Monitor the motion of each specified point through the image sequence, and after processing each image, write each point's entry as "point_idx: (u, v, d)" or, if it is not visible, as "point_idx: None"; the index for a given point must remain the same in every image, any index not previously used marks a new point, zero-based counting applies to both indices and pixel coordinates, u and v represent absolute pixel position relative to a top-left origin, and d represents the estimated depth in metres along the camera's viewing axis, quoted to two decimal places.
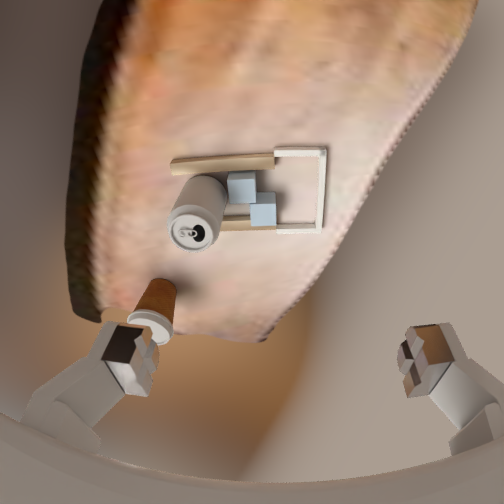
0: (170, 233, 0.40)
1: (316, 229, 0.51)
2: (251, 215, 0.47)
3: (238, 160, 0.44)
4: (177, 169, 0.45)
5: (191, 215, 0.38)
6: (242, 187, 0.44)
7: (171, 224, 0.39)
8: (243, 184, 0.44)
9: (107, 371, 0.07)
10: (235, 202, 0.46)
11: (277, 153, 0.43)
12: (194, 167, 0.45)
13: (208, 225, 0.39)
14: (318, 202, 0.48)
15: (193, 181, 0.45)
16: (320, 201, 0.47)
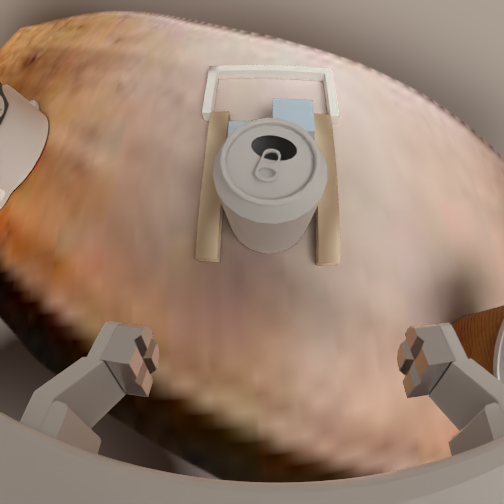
0: (265, 200, 0.17)
1: (326, 73, 0.31)
2: None
3: (208, 153, 0.29)
4: (206, 245, 0.27)
5: (222, 147, 0.18)
6: None
7: (240, 192, 0.17)
8: None
9: (107, 371, 0.07)
10: None
11: (206, 109, 0.30)
12: (208, 217, 0.28)
13: (250, 122, 0.18)
14: (283, 70, 0.31)
15: None
16: (281, 68, 0.31)
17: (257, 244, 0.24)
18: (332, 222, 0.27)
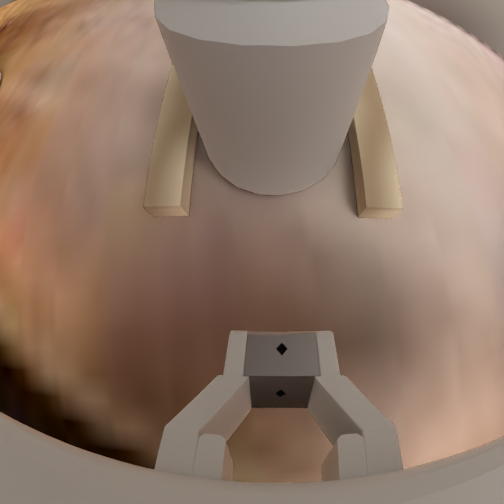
0: None
1: None
2: None
3: None
4: (164, 184, 0.15)
5: None
6: None
7: None
8: None
9: (247, 387, 0.07)
10: None
11: None
12: (170, 140, 0.15)
13: None
14: None
15: None
16: None
17: (252, 164, 0.12)
18: (381, 144, 0.14)
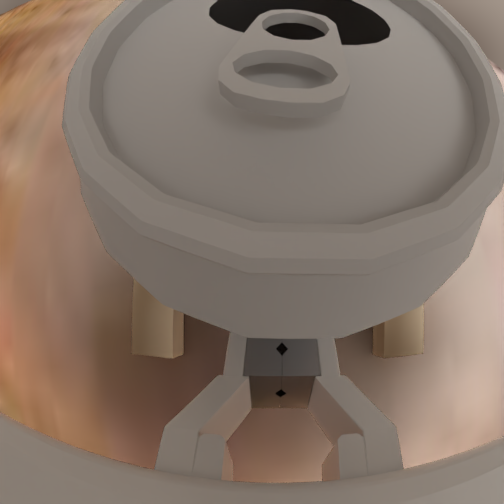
0: (289, 237, 0.02)
1: None
2: None
3: None
4: (151, 330, 0.12)
5: (95, 29, 0.03)
6: None
7: (122, 192, 0.02)
8: None
9: (247, 387, 0.07)
10: None
11: None
12: None
13: None
14: None
15: None
16: None
17: None
18: None
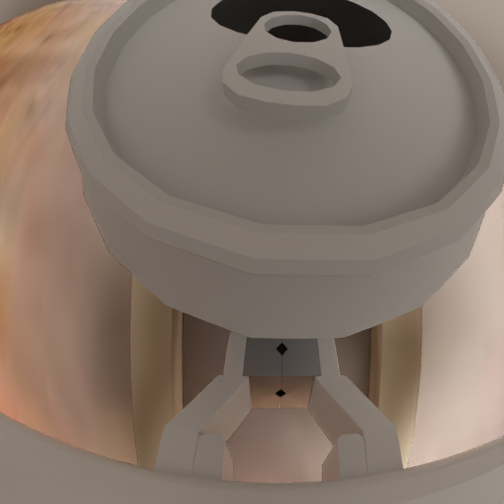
0: (293, 239, 0.02)
1: None
2: None
3: None
4: (155, 451, 0.11)
5: (97, 30, 0.03)
6: None
7: (127, 193, 0.03)
8: None
9: (247, 387, 0.07)
10: None
11: None
12: (151, 401, 0.12)
13: None
14: None
15: None
16: None
17: None
18: (405, 403, 0.11)
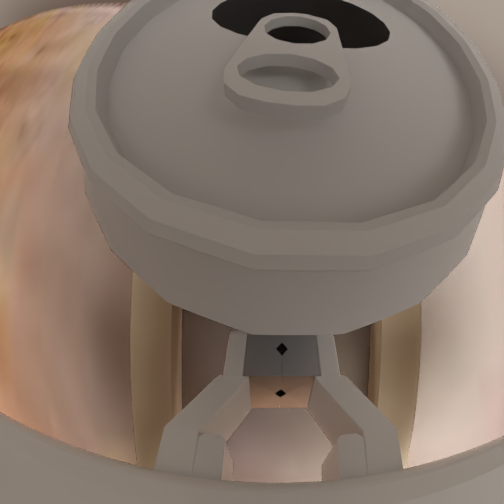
0: (293, 234, 0.02)
1: None
2: None
3: (138, 301, 0.13)
4: None
5: (100, 31, 0.03)
6: None
7: (130, 191, 0.03)
8: None
9: (247, 387, 0.07)
10: None
11: None
12: (153, 444, 0.11)
13: None
14: None
15: None
16: None
17: None
18: None
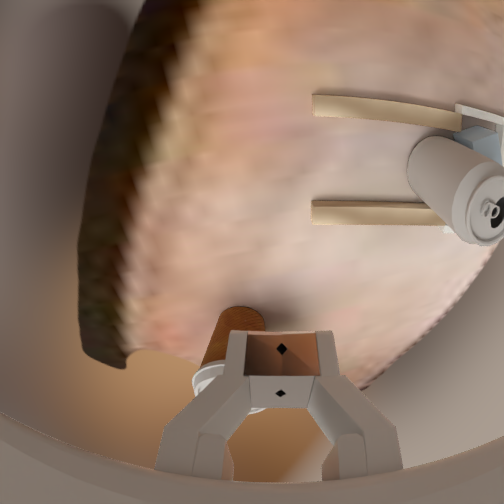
0: (471, 208, 0.18)
1: None
2: None
3: (420, 109, 0.23)
4: (327, 106, 0.24)
5: None
6: (488, 148, 0.22)
7: (479, 190, 0.17)
8: (489, 143, 0.22)
9: (248, 387, 0.07)
10: None
11: (465, 110, 0.22)
12: (355, 107, 0.24)
13: None
14: None
15: (441, 140, 0.23)
16: None
17: (421, 168, 0.24)
18: (347, 218, 0.30)
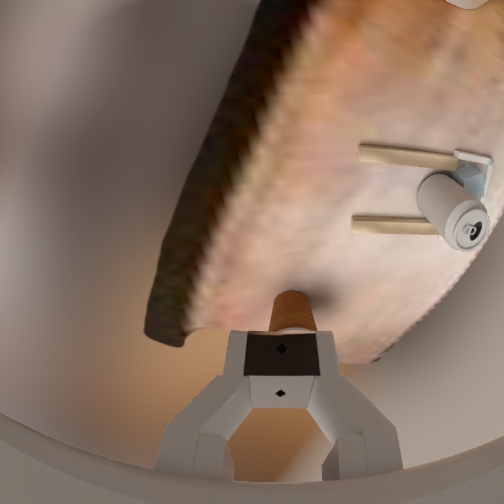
0: (457, 229, 0.30)
1: None
2: None
3: (429, 156, 0.35)
4: (369, 155, 0.36)
5: (481, 210, 0.29)
6: (474, 183, 0.34)
7: (462, 219, 0.29)
8: (475, 180, 0.34)
9: (247, 387, 0.07)
10: None
11: (461, 156, 0.35)
12: (387, 156, 0.36)
13: (489, 222, 0.29)
14: None
15: (442, 178, 0.36)
16: None
17: (427, 198, 0.37)
18: (375, 229, 0.42)
